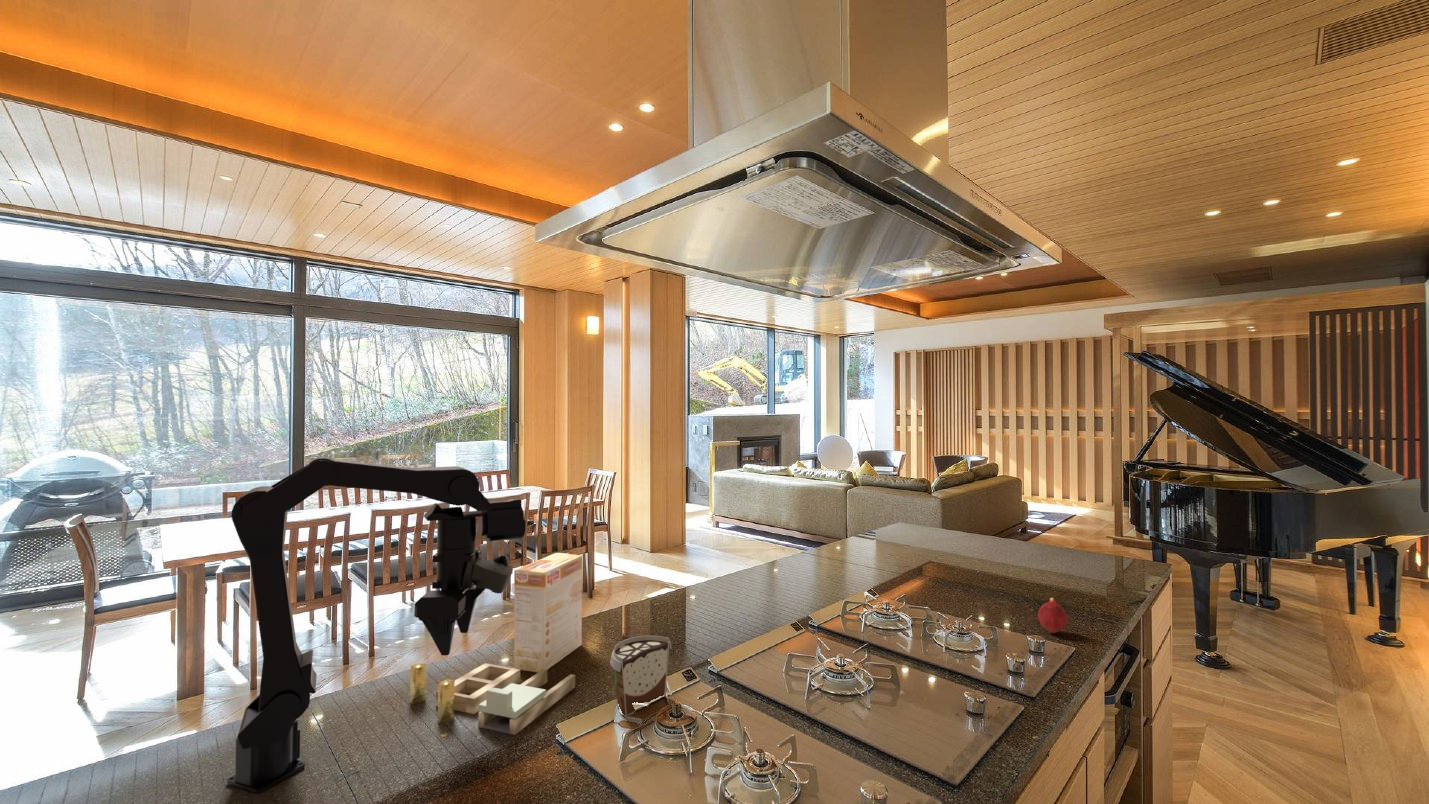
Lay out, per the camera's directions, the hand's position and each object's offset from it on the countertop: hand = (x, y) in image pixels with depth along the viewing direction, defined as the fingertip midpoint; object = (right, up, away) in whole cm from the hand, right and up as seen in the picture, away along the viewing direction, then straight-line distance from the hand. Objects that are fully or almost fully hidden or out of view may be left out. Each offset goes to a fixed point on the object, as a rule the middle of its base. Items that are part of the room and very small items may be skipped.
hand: (455, 643), depth 95 cm
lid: (+9, -11, +2) cm, 14 cm away
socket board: (0, -13, +11) cm, 17 cm away
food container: (+28, -14, +8) cm, 32 cm away
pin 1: (-10, -13, +8) cm, 19 cm away
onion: (+119, -15, +41) cm, 127 cm away
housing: (+10, -13, +6) cm, 18 cm away
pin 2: (-2, -13, +2) cm, 14 cm away
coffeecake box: (+8, -14, +27) cm, 31 cm away
